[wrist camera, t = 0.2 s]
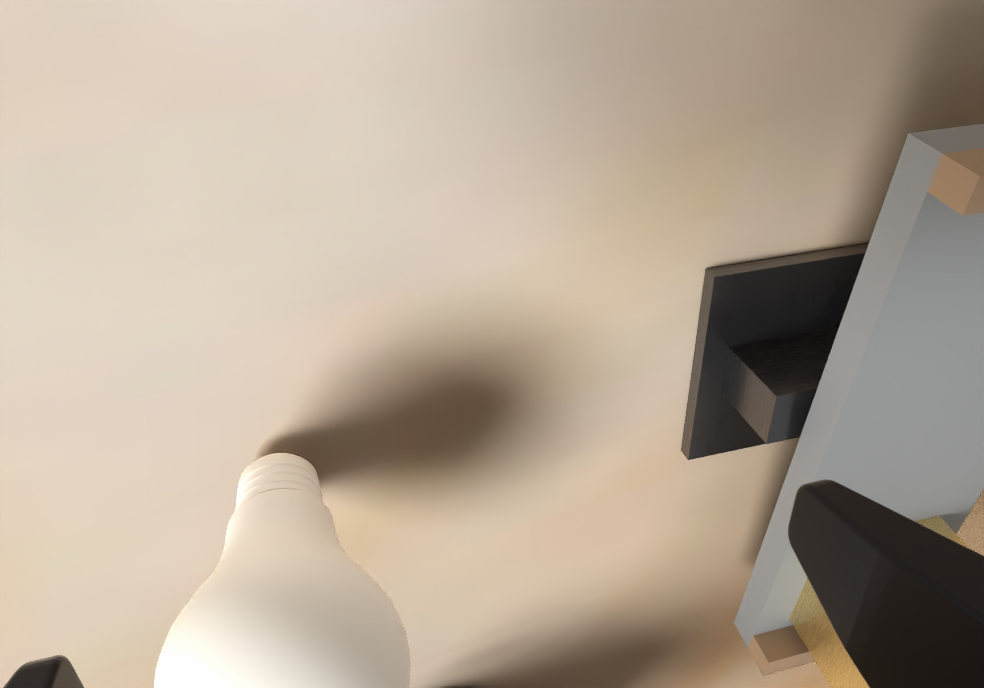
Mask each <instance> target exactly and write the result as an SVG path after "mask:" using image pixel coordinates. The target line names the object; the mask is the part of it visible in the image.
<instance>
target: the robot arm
mask: <svg viewBox="0 0 984 688" xmlns="http://www.w3.org/2000/svg"><path fill="white" fill-rule="evenodd" d="M788 538H789V542H790V545H791V547H792V549H793V551H794V553H795V555H796V557H797V559H798V561H799V563H800V564H801V566H802V568H803V570H804V572H805V574H806V576H807V578H808V580H809V582H810V584H811V586H812V588H813V589H814V591H815V593H816V595H817V597H818V599H819V601H820V603H821V605H822V607H823V609H824V611H825V613H826V614H827V616H828V618H829V620H830V622H831V624H832V626H833V628H834V630H835V632H836V634H837V635H838V637H839V639H840V641H841V643H842V644H843V646H844V648H845V650H846V651H847V653H848V655H849V656H850V658H851V659H852V661H853V663H854V664H855V666H856V667H857V669H858V670H859V672H860V674H861V675H862V677H863V678H864V680H865V681H866V683H867V684H868V686H869V687H870V688H984V556H983V555H981V554H979V553H977V552H975V551H973V550H971V549H969V548H967V547H965V546H963V545H961V544H959V543H957V542H955V541H953V540H951V539H949V538H947V537H945V536H943V535H941V534H939V533H937V532H935V531H933V530H931V529H929V528H927V527H925V526H923V525H921V524H919V523H917V522H915V521H913V520H911V519H909V518H907V517H905V516H903V515H901V514H899V513H897V512H895V511H893V510H891V509H889V508H887V507H885V506H883V505H881V504H879V503H877V502H875V501H873V500H871V499H869V498H867V497H865V496H863V495H861V494H859V493H857V492H855V491H853V490H851V489H849V488H847V487H845V486H843V485H841V484H840V483H838V482H835V481H833V480H820V481H815V482H811V483H807V484H803V485H801V486H800V487H799V488H798V490H797V492H796V495H795V500H794V504H793V508H792V512H791V516H790V520H789V524H788ZM3 688H84V687H83V685H82V683H81V681H80V679H79V677H78V675H77V674H76V672H75V670H74V668H73V666H72V664H71V662H70V661H69V660H68V658H66V657H65V656H62V655H57V656H53V657H48V658H44V659H40V660H35V661H31V662H28V663H26V664H24V665H22V666H21V667H20V668H19V669H18V670H17V671H16V672H15V673H14V674H13V676H12V677H11V678H10V680H9V681H8V682H7V683H6V685H5V686H4V687H3Z"/></svg>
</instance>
